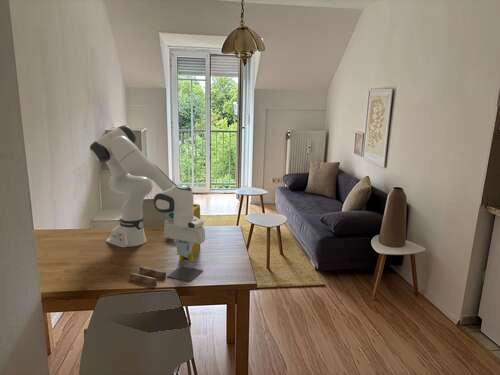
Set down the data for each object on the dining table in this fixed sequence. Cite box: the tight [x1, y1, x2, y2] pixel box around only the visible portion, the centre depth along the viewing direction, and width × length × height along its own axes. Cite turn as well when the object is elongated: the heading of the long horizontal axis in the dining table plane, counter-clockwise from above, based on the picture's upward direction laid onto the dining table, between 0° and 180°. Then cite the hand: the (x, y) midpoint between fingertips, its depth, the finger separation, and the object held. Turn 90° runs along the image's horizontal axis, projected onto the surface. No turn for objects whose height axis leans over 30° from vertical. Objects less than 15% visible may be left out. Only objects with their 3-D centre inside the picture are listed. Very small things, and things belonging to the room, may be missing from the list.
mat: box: [166, 265, 204, 283], centre depth 175 cm, size 12×12×1 cm
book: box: [178, 203, 201, 261], centre depth 195 cm, size 17×7×25 cm, turn 168°
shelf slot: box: [128, 265, 167, 287], centre depth 169 cm, size 14×8×3 cm, turn 68°
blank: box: [176, 240, 191, 256], centre depth 171 cm, size 4×5×6 cm
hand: (184, 249), depth 172 cm, fingers closed on blank, 4 cm apart
